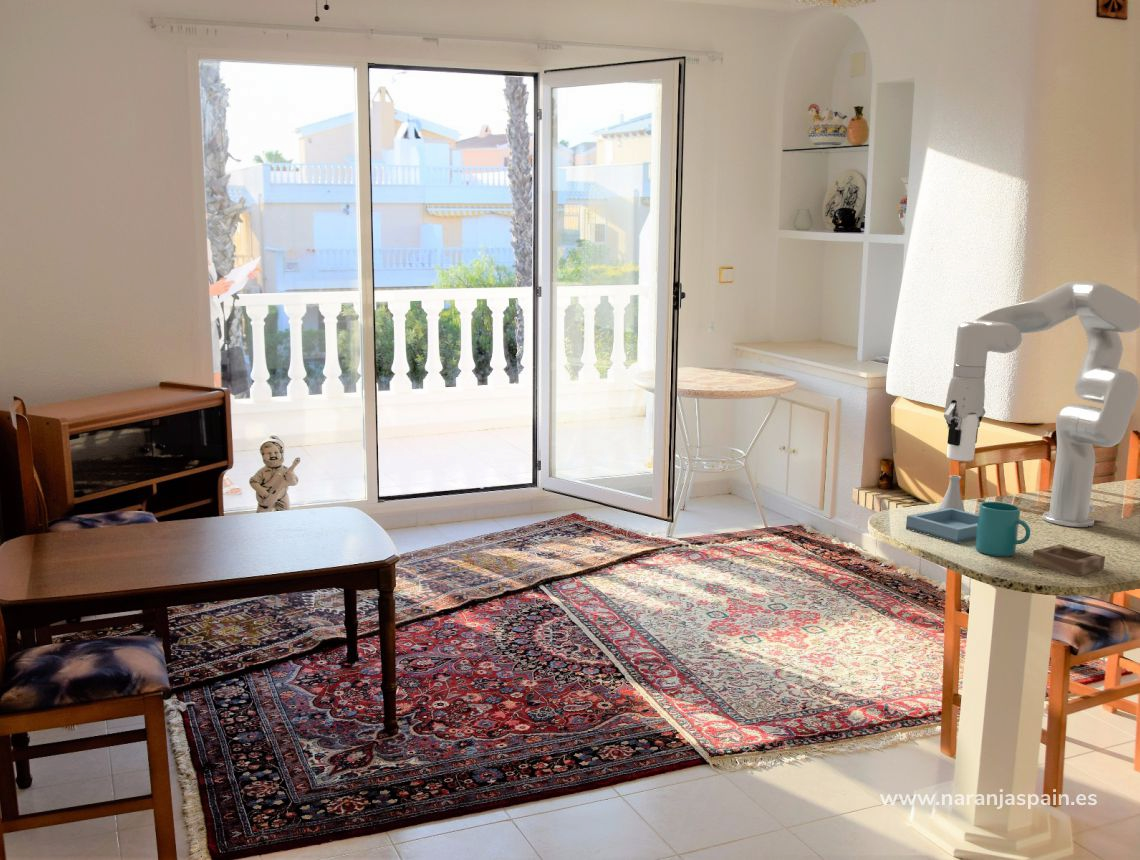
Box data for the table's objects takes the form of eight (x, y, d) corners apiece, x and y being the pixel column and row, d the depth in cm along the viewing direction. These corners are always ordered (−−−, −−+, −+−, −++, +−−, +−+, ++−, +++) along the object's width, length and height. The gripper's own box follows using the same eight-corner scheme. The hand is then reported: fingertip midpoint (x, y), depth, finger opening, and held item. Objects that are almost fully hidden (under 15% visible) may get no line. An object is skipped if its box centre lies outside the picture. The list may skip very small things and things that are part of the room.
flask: (969, 515, 291) (973, 479, 289) (943, 514, 291) (946, 478, 289) (959, 509, 298) (963, 474, 296) (933, 508, 298) (937, 473, 296)
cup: (1021, 562, 248) (1026, 515, 246) (969, 551, 256) (974, 505, 254) (1033, 554, 255) (1038, 508, 253) (982, 544, 263) (986, 499, 261)
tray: (948, 520, 285) (950, 507, 284) (999, 534, 273) (1001, 520, 272) (905, 528, 274) (907, 515, 274) (956, 543, 262) (958, 529, 262)
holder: (1058, 556, 254) (1059, 544, 254) (1103, 569, 246) (1105, 556, 245) (1032, 563, 248) (1033, 550, 248) (1077, 576, 239) (1079, 563, 239)
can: (969, 463, 266) (973, 415, 264) (942, 459, 270) (947, 412, 267) (977, 459, 271) (981, 412, 269) (951, 455, 275) (955, 409, 273)
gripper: (976, 369, 274) (969, 438, 278) (934, 372, 264) (927, 443, 268) (1003, 372, 268) (995, 443, 272) (961, 376, 258) (953, 449, 262)
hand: (962, 443), depth 270 cm, fingers closed on can, 6 cm apart
